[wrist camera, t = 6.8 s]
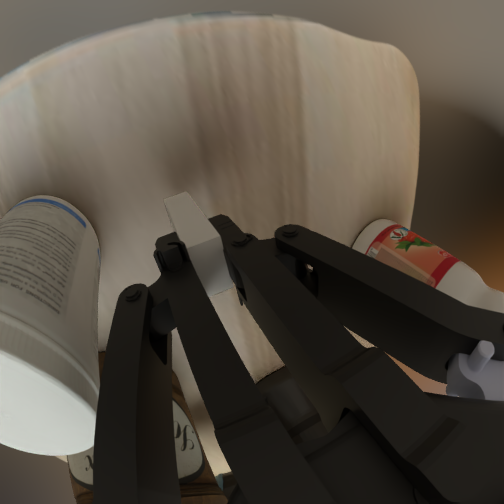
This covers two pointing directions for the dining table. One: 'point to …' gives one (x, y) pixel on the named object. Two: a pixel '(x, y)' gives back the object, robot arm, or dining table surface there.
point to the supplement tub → (48, 327)
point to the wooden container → (187, 455)
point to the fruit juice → (426, 264)
